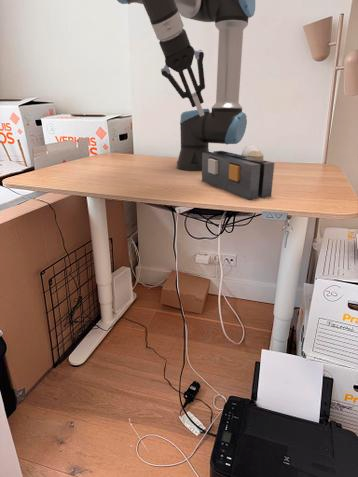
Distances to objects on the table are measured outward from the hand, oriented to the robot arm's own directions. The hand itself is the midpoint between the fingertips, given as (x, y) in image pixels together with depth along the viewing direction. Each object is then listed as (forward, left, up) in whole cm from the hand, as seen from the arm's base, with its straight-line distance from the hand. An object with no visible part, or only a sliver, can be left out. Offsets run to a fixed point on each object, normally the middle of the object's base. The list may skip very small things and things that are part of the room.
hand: (201, 113), depth 104 cm
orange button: (+14, +2, -19) cm, 23 cm away
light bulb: (-1, +29, -23) cm, 37 cm away
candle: (+6, +22, -23) cm, 33 cm away
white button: (+3, +5, -19) cm, 20 cm away
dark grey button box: (+9, +6, -23) cm, 25 cm away
